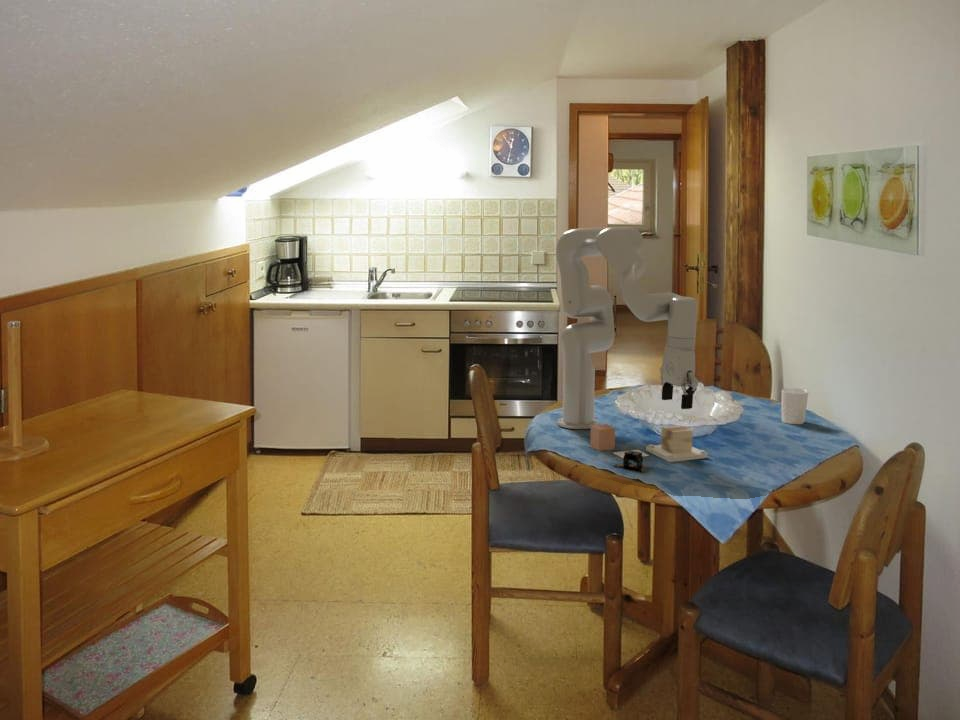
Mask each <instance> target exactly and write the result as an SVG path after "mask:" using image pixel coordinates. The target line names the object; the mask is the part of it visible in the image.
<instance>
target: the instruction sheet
mask: <svg viewBox="0 0 960 720" xmlns="http://www.w3.org/2000/svg"><path fill="white" fill-rule="evenodd" d="M628 451H629V450H621V451H613V452H612V454H614V455H615V456H617V457H620V458H621V459H623V458H624V456H625V452H628ZM630 451H636V452H641V453H642V456H643V458H645V457H649V456H650V455H649V454H648V453H646V452H643V451H641V450H640V449H631V450H630Z"/></svg>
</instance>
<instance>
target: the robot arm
mask: <svg viewBox="0 0 960 720" xmlns="http://www.w3.org/2000/svg"><path fill="white" fill-rule="evenodd" d="M643 247H644V239H643V235H642V234H641V232H640V231H639V230H638V229H637V228H635V227H633V226H614V227H613V226H612V227H583V228H582V227H581V228H580V227H579V228H573V229H572V228H571V229H569V230H566V231H565V232H563V233H562V234H561V235H560V237H559V239H558V240H557V244H556V248H555V255H556V260H557V265H558V269H559V273H560V274H559V275H560V285H561V297H562V298H561V299H562V300H561V301H562V307H563V312H564V313H565V316H566V317H568V318H570V319H585V318H589V321H584V322H575V323H572V324H569V325H567V326H566V327H565V328H564V329H563V330H562V331H561V334H560V344H561V345H560V346H561V351H562V359H563V360H562V362H563V375H562V376H563V377H562V379H563V380H562V381H563V383H562V388H563V389H562V408H561V409H560V411H561V412H562V417H560V418H558V419H557V425H558V426H559V427H562V428H565V429H569V430H570V429H572V430H591V426H594V425H600V423H599V422H600V421H599V420H598V419H596V418H594V414H595V383H596V382H595V378H596V371H595V370H596V368H595V364H594V362H593V358H592V357H591V354H592V353H600V352H604V351H607V350H610V348H612V346H613V345H614V342H615V337H616V336H615V334H616V333H615V332H616V331H615V321H614V319H615V318H614V310H613V309H614V307H613V301H612V297H611V294H610V293H609V290H607V288H606V287H604V286H601V285H599V284H598V285H597V284H596V285H595V284H594V285H591V284H590V277H589V276H590V275H589V270H588V268H587V265H586V263H585V262H584V261H583V260H582V258H585V257H588V258H589V257H590V258H591V257H592V258H593V257H604V259H605V260H606V261H607V263H608V264H609V266H610V267H611V268H612V269H613V270H614V272H615V273H616V275H617V276H618V277H619V278H620V295H621V298H622V300H623V302H624V303H625V305H626V306H627V308H628V309H629V310H630V312H631V313H632V314H633V315H634V316H635V317H636V318H637V319H638V320H640V321H642V322H646V323H649V322H657V321H667V333H666V334H667V335H666V336H667V337H666V344H665V347H664V351H663V355H662V356H663V357H662V362H661V366H660V367H659V372H660V379H661V387H662V388H661V400H662V401H671V400H673V397H674V396H673V395H674V386H675V387H681V389H682V393H683V394H681V404H680V409H681V410H691V409H692V408H693V401H694V400H693V399H694V395H695V392H696V391H697V388H698V385H699V380H698V379H697V377H696V376H695V375H696V353H695V351H696V350H695V349H696V338H697V337H696V336H697V324H698V312H699V310H698V309H699V302H698V300H697V299H696V298H694V297H691V296H682V295H680V294H677V293H674V292H670V291H667V292H666V291H665V292H654V293H653V292H652V293H647V291H646V290H645V289H644V287H642V285H641V284H640V282H639V280H638V279H639V278H640V277H641V276H642V275H643V274H644V273H645V270H646V268H647V261H646V259H645V258H644V257H643V256H642V254H641V253H640V252H641V251H642V249H643Z"/></svg>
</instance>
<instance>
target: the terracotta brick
mask: <svg viewBox="0 0 960 720" xmlns="http://www.w3.org/2000/svg"><path fill="white" fill-rule="evenodd" d="M589 445H590V447H591V448H593V449H594V450H596V451H599V452H600V451H607V450H608V451H610V450H615V445H616V428H615V427H613V426H612V425H608V424H606V423H605V424H598V425H594V426H591V429H590V444H589Z"/></svg>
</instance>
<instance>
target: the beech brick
mask: <svg viewBox="0 0 960 720" xmlns="http://www.w3.org/2000/svg"><path fill="white" fill-rule="evenodd" d="M693 432H694V431H693V429H691V428H688V427H686V426H683V425H679V424H678V425H668V426H661V439H660V440H661V441H660V442H661V443H660V445H661V448H662V449H664V450H666V451H668V452H670V453H672V454H675V453H684V452H692V447H693V434H694V433H693Z"/></svg>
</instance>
